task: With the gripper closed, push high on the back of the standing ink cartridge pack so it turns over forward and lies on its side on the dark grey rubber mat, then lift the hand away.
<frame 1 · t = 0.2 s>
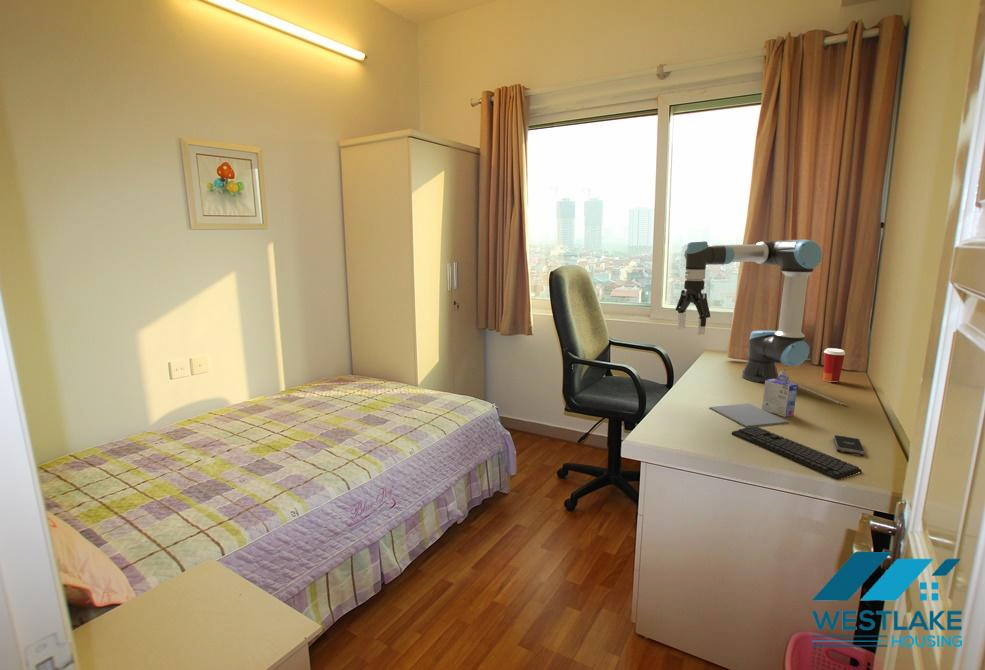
hand: (690, 331, 203), 28 cm above the table, tool pointing down, fingers open, 13 cm apart
brush: (809, 398, 205), on the table
coffee cup: (830, 381, 227), on the table
ink cartridge box: (777, 412, 188), on the table
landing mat: (747, 415, 185), on the table
external hard drive: (847, 449, 157), on the table
keyboard: (790, 453, 154), on the table
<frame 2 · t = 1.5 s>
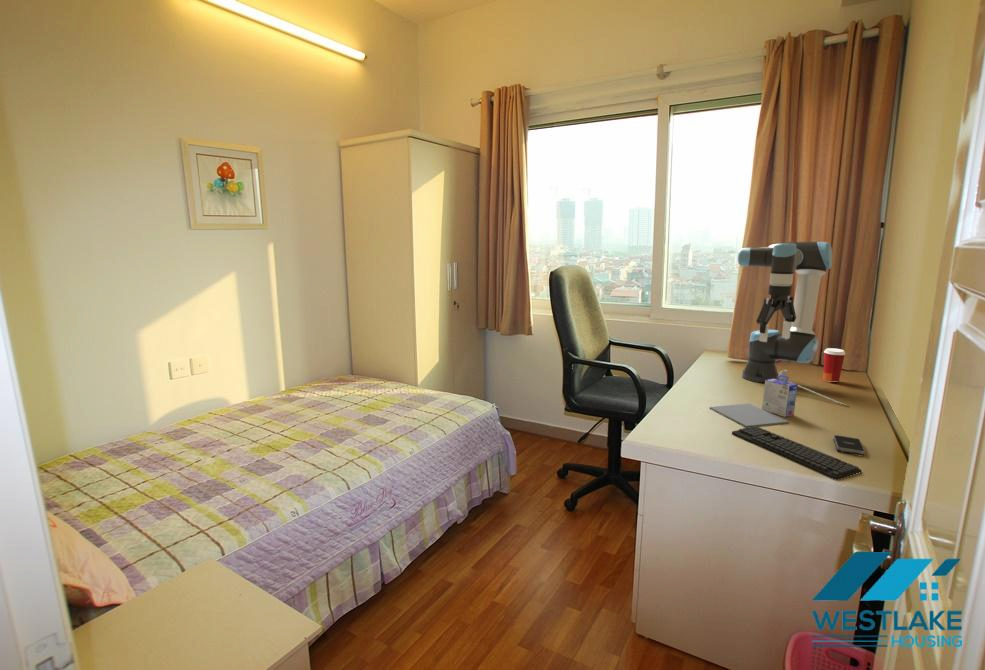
hand: (774, 339, 190), 27 cm above the table, tool pointing down, fingers open, 13 cm apart
nothing on the table moved.
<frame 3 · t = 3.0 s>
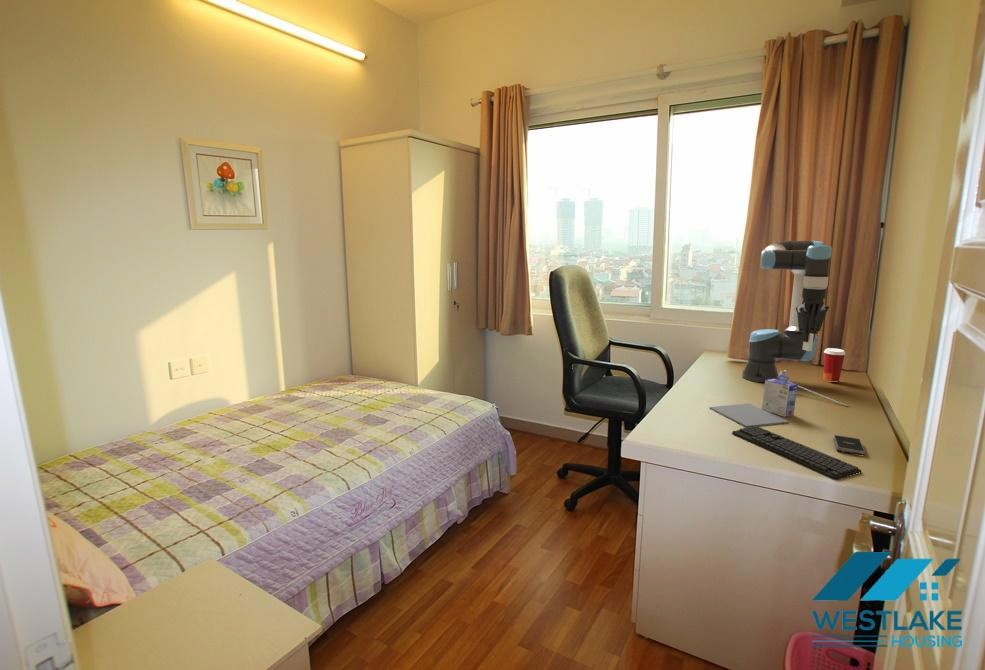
hand: (807, 350, 185), 24 cm above the table, tool pointing down, fingers closed
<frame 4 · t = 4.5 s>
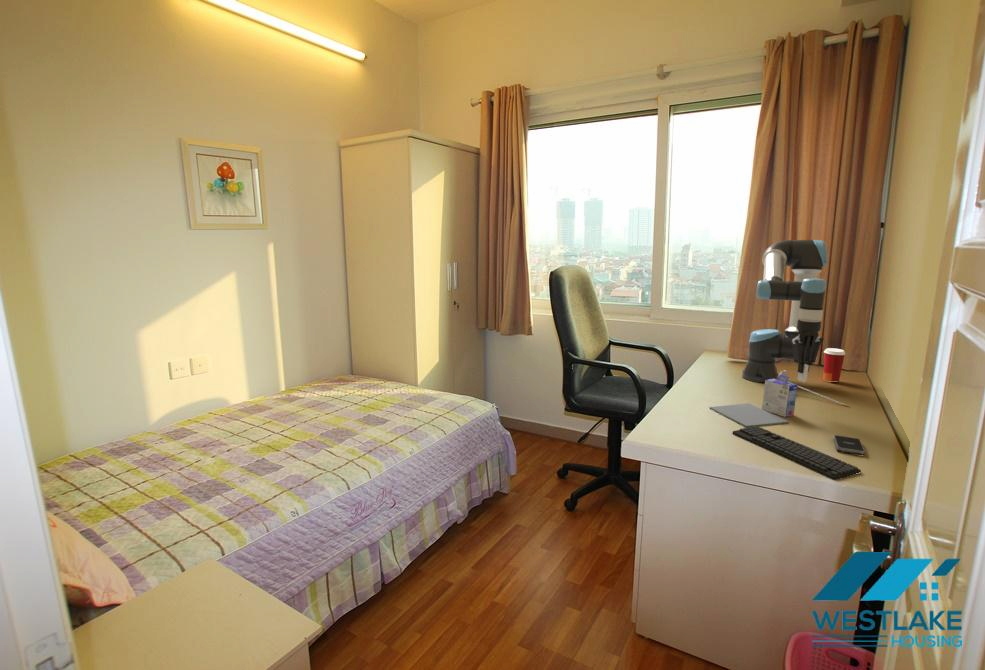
hand: (802, 380, 188), 12 cm above the table, tool pointing down, fingers closed
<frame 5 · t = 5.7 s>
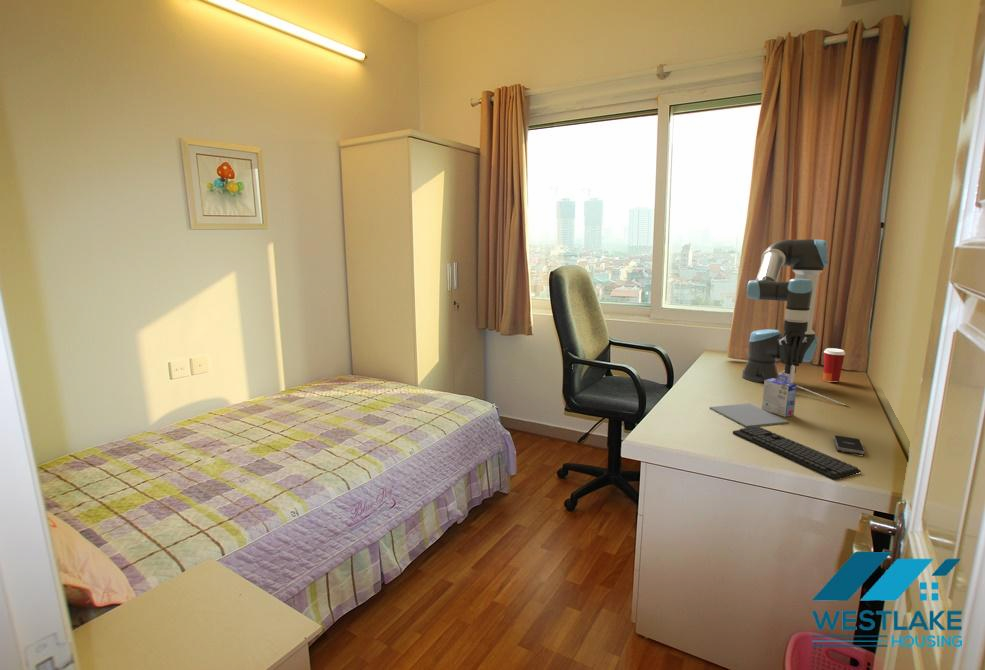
hand: (788, 381, 186), 12 cm above the table, tool pointing down, fingers closed
ink cartridge box: (777, 412, 188), on the table, touching gripper
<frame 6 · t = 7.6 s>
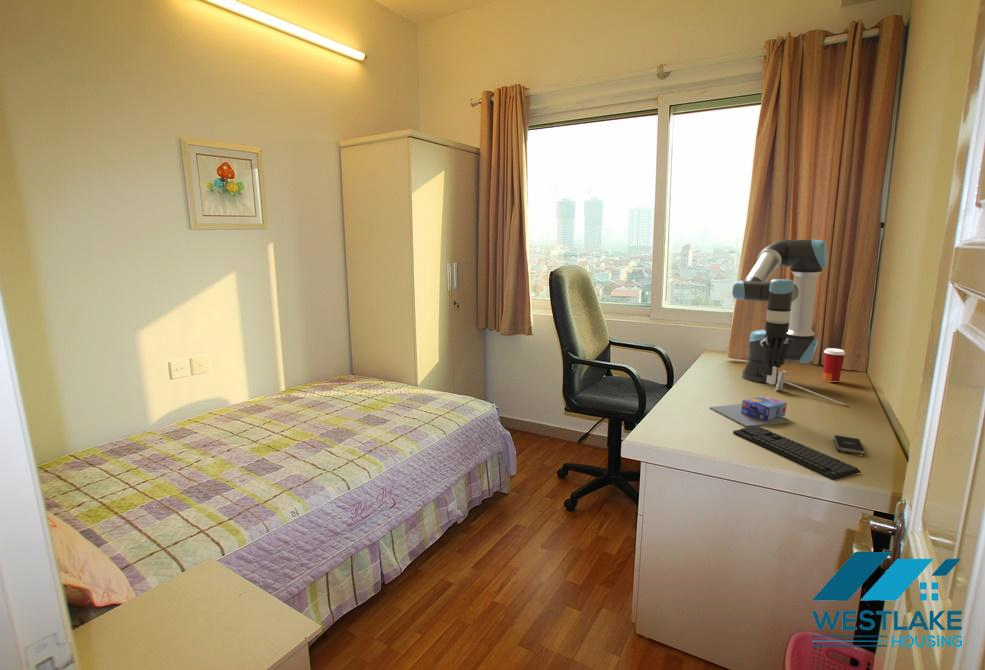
hand: (770, 383, 184), 12 cm above the table, tool pointing down, fingers closed
ink cartridge box: (774, 404, 186), point 3 cm above the table, touching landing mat
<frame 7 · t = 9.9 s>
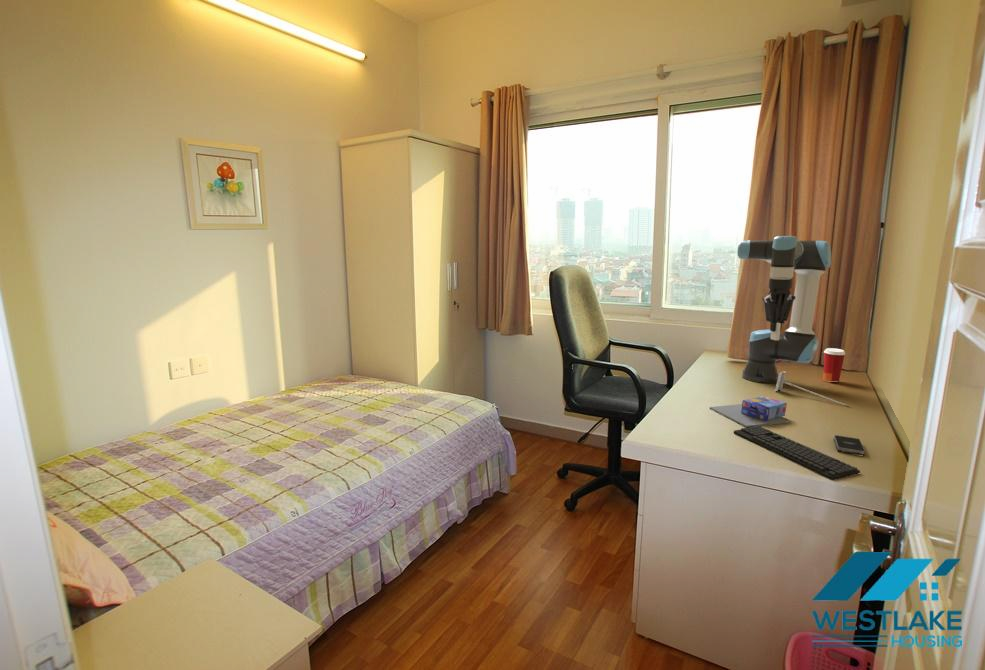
hand: (774, 339, 188), 27 cm above the table, tool pointing down, fingers closed
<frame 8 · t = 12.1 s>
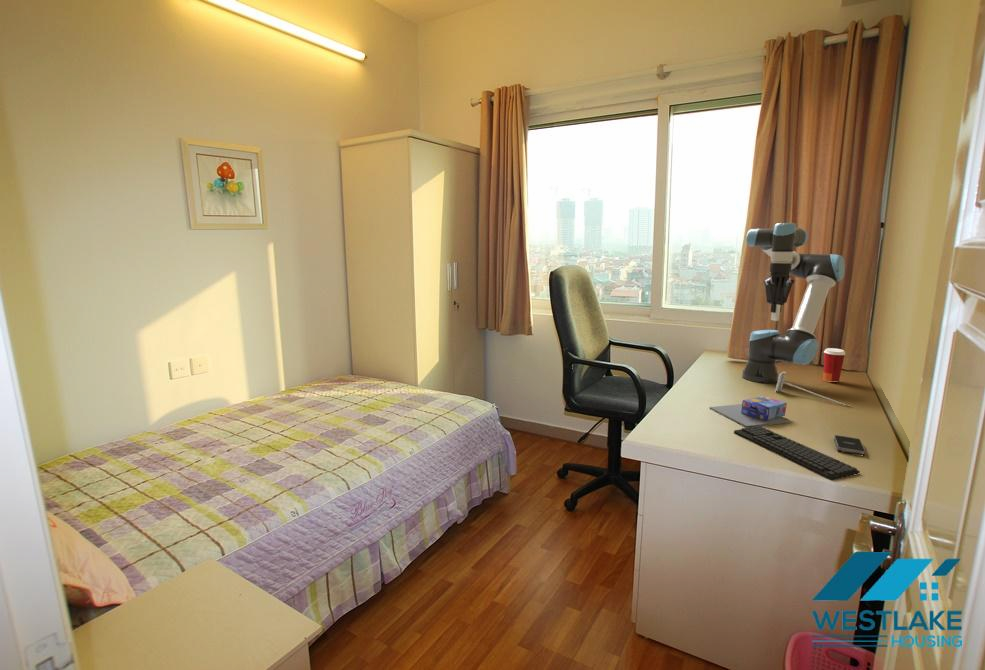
hand: (774, 320, 201), 32 cm above the table, tool pointing down, fingers closed
at the end: ink cartridge box tilted 92°; ink cartridge box inside the target area (2.7 cm from its centre), point 3.4 cm above the table; ink cartridge box touching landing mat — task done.
